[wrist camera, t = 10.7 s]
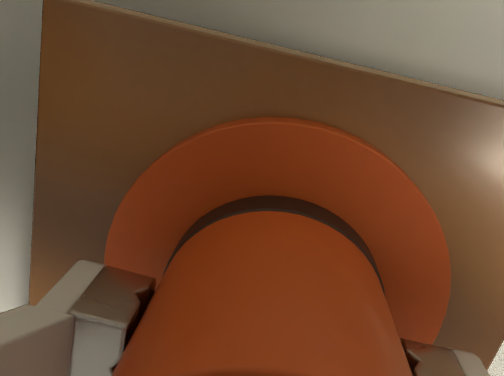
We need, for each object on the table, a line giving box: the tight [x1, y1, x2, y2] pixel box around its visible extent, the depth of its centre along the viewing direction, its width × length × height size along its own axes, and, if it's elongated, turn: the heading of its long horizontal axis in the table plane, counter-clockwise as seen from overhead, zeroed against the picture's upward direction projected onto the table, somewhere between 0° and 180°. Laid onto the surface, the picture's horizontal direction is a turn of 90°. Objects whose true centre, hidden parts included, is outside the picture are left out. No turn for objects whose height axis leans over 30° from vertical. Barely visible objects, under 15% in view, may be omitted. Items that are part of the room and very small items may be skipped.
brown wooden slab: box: [29, 0, 504, 370], centre depth 11 cm, size 10×12×2 cm
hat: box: [104, 117, 451, 376], centre depth 8 cm, size 8×8×6 cm
